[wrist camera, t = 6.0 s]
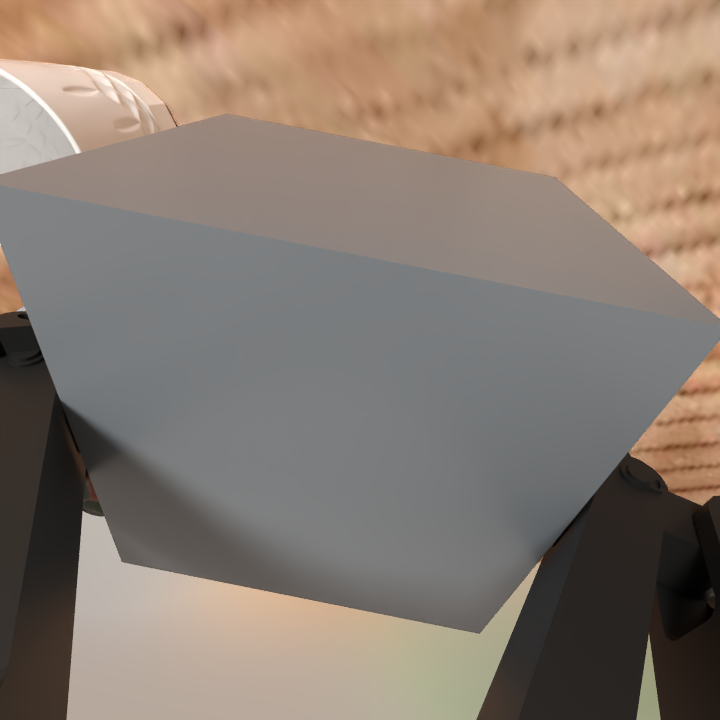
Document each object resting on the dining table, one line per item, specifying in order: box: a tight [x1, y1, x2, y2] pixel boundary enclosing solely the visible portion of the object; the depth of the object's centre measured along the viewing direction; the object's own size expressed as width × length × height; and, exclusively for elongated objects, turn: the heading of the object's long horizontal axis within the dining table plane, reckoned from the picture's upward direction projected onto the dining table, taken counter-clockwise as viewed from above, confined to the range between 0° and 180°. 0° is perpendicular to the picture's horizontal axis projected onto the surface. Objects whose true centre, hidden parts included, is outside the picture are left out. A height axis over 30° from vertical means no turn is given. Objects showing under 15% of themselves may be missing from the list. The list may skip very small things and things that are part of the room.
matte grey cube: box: [0, 114, 720, 634], centre depth 12 cm, size 10×10×9 cm
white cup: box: [0, 59, 177, 246], centre depth 22 cm, size 8×8×10 cm
